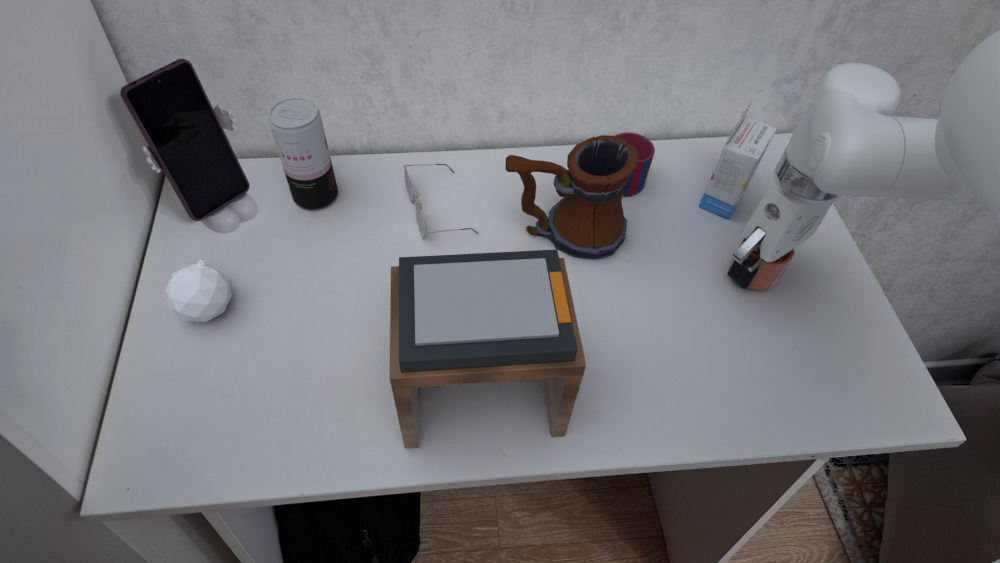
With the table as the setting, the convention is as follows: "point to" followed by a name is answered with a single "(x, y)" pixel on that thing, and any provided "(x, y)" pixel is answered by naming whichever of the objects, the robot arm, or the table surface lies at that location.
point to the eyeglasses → (419, 205)
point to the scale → (483, 311)
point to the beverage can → (303, 152)
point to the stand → (484, 375)
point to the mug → (582, 196)
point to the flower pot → (768, 270)
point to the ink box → (736, 164)
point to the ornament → (198, 292)
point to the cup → (645, 160)
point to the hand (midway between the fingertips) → (755, 268)
